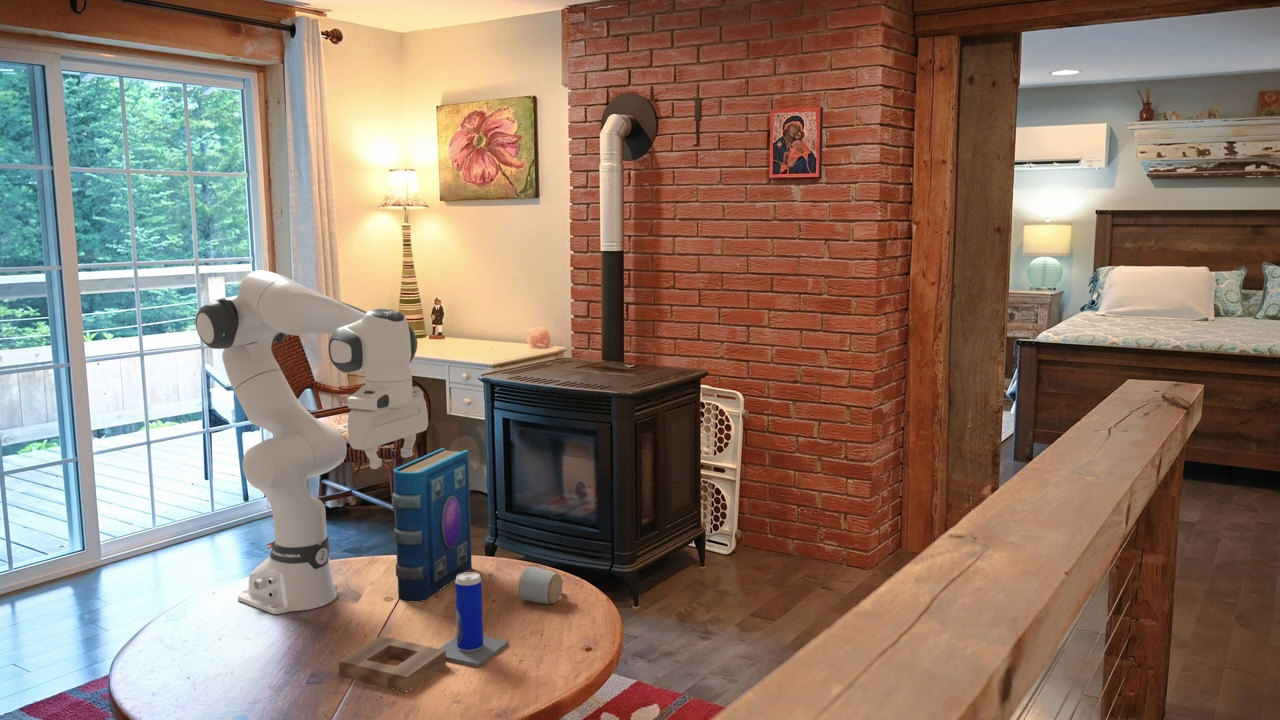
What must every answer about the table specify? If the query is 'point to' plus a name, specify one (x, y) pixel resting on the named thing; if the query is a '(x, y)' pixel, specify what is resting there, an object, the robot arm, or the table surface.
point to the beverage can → (469, 611)
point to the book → (431, 522)
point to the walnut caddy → (372, 669)
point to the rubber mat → (474, 652)
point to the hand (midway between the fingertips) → (391, 462)
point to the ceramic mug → (540, 585)
